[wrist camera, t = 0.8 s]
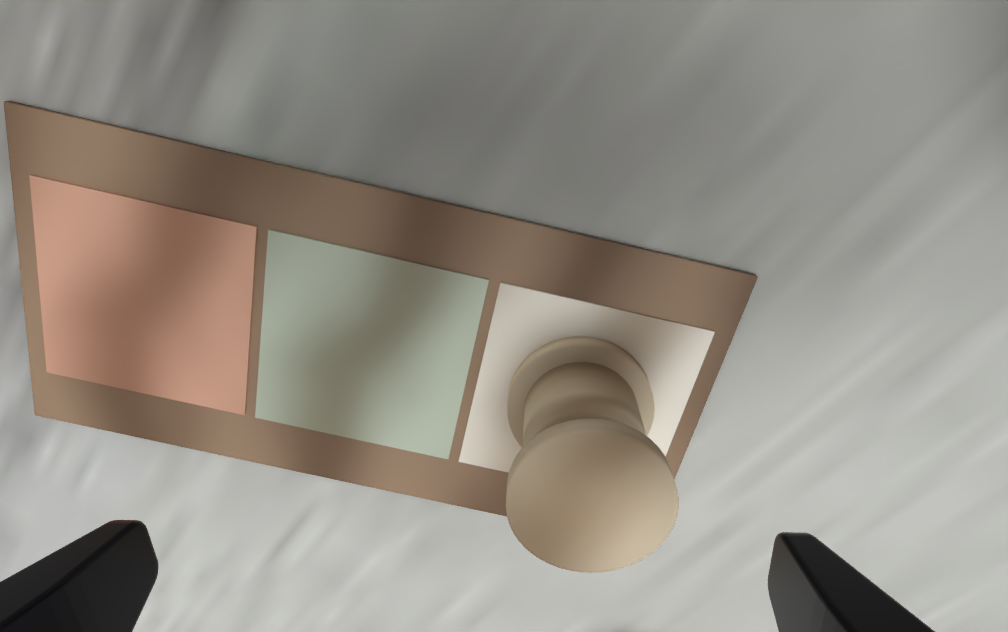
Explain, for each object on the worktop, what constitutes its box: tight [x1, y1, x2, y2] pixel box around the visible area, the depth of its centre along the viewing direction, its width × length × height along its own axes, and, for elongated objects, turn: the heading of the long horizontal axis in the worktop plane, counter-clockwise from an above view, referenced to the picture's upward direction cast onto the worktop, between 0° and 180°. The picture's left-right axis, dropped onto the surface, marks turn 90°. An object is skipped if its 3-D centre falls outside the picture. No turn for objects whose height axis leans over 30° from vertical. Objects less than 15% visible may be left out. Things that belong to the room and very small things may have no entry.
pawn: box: [506, 336, 679, 573], centre depth 20 cm, size 5×5×6 cm
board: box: [4, 101, 757, 516], centre depth 22 cm, size 25×12×1 cm, turn 77°
